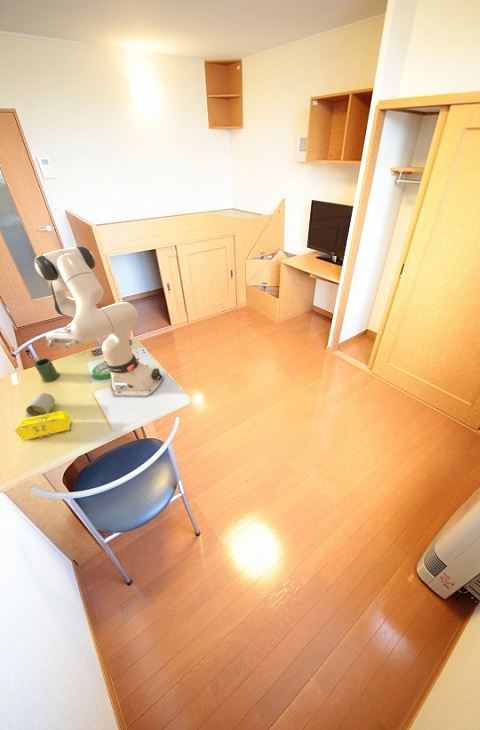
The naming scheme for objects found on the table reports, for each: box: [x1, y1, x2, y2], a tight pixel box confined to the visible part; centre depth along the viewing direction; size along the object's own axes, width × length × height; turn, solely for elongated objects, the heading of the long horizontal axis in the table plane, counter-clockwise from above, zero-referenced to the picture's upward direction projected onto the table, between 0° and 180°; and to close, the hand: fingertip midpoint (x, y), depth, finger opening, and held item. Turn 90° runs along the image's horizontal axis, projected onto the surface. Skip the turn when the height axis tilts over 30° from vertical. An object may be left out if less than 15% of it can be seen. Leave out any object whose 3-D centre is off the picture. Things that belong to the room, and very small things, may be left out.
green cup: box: [33, 357, 59, 383], centre depth 139 cm, size 6×6×10 cm
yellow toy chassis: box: [14, 410, 72, 441], centre depth 114 cm, size 16×6×8 cm, turn 110°
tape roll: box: [92, 361, 111, 380], centre depth 145 cm, size 11×11×3 cm
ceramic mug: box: [25, 393, 56, 417], centre depth 122 cm, size 11×8×8 cm
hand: (58, 346), depth 146 cm, fingers open, 8 cm apart
